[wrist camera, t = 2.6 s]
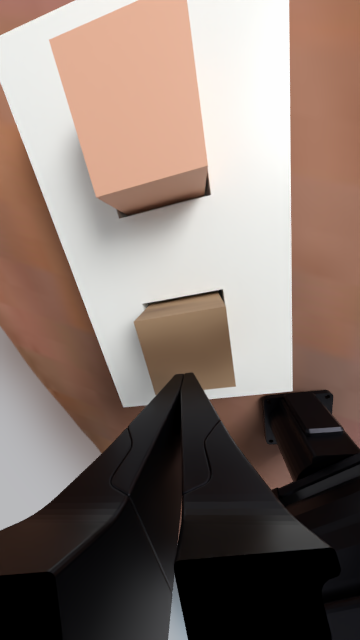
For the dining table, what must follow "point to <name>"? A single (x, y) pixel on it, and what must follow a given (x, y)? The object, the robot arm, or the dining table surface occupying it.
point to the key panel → (183, 217)
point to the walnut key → (187, 341)
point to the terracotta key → (136, 104)
